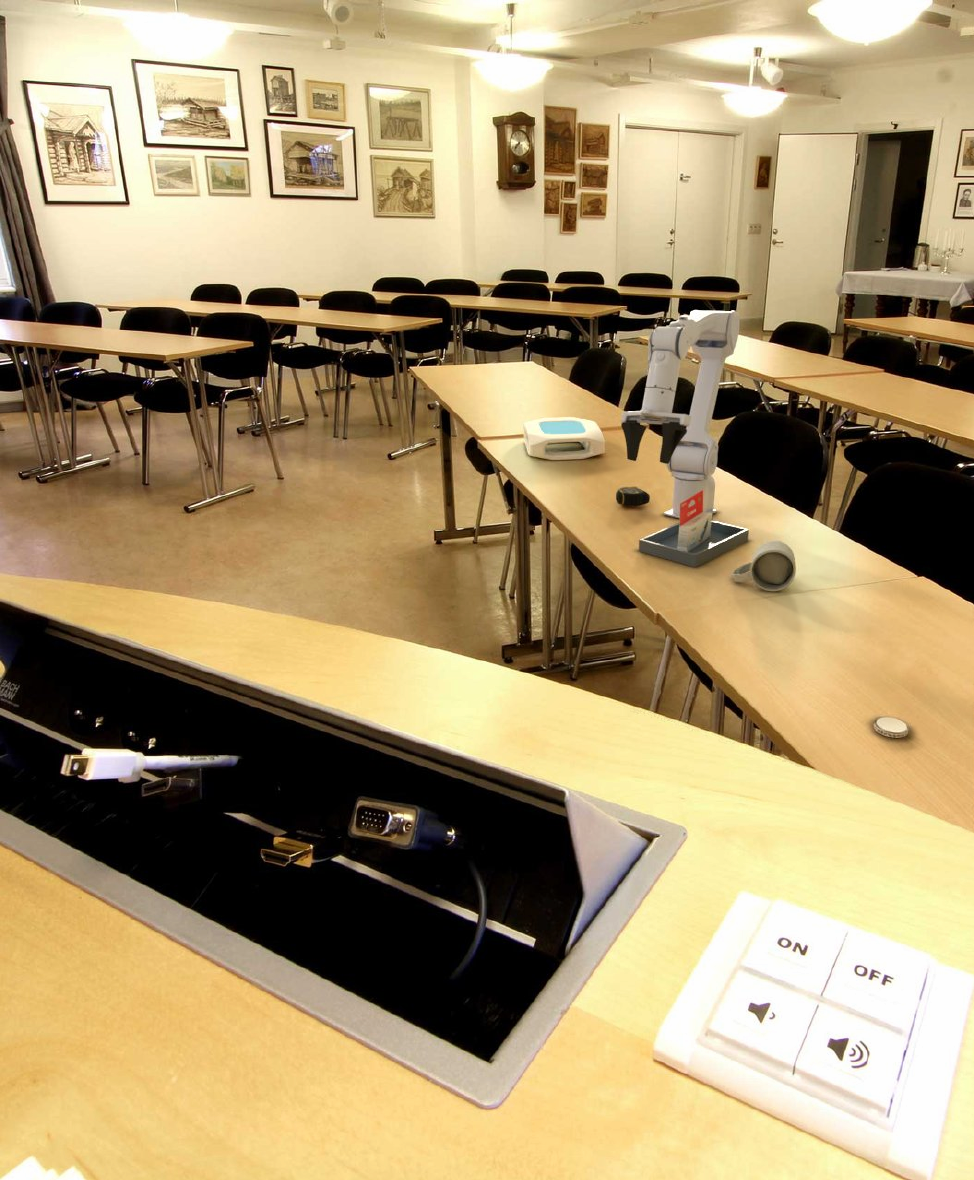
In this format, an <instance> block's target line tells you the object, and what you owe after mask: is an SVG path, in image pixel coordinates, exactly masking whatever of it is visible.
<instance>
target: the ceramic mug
mask: <svg viewBox="0 0 974 1180" xmlns="http://www.w3.org/2000/svg"><path fill="white" fill-rule="evenodd" d="M796 573H797V565H796V557H795V553H794V552H793V550H792V548H791V547H790V546H789V545H788V544H787V543H785V542H783V541H781V540H769V541H765V542H763V543H761V544H760V545H759V546H758V547H757V548H756V549H755V551H754V552H753V555H752V559H751V562H748V563H745V564H742V565H740V566H738V567H737V568H735V569H734V570H733V571H732V573H731V574H732V577H733V578H732V579H733V580H734V582H736V583H747V582H749V581H752V583H754V585H755V586H757V587H758V588H759V589H761V590H763V591H766V592H779V591H782V590H784V589H786V588H787V587H789V586H790V585H791V584H792V583H793V582H794V580H795V577H796Z"/></svg>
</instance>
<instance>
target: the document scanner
mask: <svg viewBox="0 0 974 1180" xmlns="http://www.w3.org/2000/svg"><path fill="white" fill-rule="evenodd" d="M522 432H523V440H524V446H525V448H526V451H527V452H526V453H527V455H528V456H530V457H533V458H540V459H546V460H551V461H563V460H565V461H566V460H584V459H588V458H591V457H594V456H595V457H596V456H599V455H602V454H604V453H605V452H606V440H605V437H604V435H603V432H602V430H601V428H600V427H599V425H598V423H597V422H596V421H594V420H590V419H585V418H579V417H573V416H563V417H561V416H560V417H559V416H558V417H542V418H539V419H535V420H531V421H528V422H527V421H526V422H524V423H523V424H522ZM573 442H576V443H577V442H579V443H580V444H581V445H582V447H583V448H584V449H581V450H566V451H548V450H546V447H547V445H548V444H557V443H573Z"/></svg>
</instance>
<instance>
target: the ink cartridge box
mask: <svg viewBox="0 0 974 1180" xmlns="http://www.w3.org/2000/svg"><path fill="white" fill-rule="evenodd" d="M691 500H694V501H695V504H694V505H692V506H690V507H689V508H688V506H689V504H690V502H691ZM678 519H679V520H678V521H679V522H678V523H679V535H678V546H677V549H679V550H683V551H687V552H688V551H690V550H691V549H693V548H694V547H696V546H697V545H699V544H700V543H702V542H703V541H704V540H706V539H707V538H709V537H710V533H711V522H712V521H713V514H712V513H706V512H703V490H702V491H700V492H699V493H697V494H695V495H694V496H692V497H690V498H689V499H687V500H685V501H684V502H682V503H680V518H678Z"/></svg>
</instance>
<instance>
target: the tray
mask: <svg viewBox="0 0 974 1180" xmlns="http://www.w3.org/2000/svg"><path fill="white" fill-rule="evenodd" d="M678 535H679V522H677V523H675V524H672V525H670V526H667V527H665V528H663V529H660V530H658V531H656V532H653V533H651V534H649V535H647V536H644V537H643V538H639V540H638V552H640V553H643V554H647V555H650V556H654V557H658V558H661V559H665V560H668V561H672V562H675V563H678V564H682V565H686V566H689V567H692V568H697V567H699V566H701V565H703V564H704V563H707V562H709V561H710V560H712V559H714V558H717V557H718V556H720V555H723V554H724V553H726V552H728V551H730V550H732V549H735V548H736V547H738V546H740V545H742V544H744V543H746V542H749V535H750V529H748V528H744V527H742V526H741V527H740V526H737V525H732V524H728V523H724V522H719V521H715V520H712V522H711V533H710V537H709V538H707V539H706V540H704V541H703V542H702V543H700V544H699V545H697V546H696V547H694V548H693V549H691V550H690V551H688V552H687V551H683V550H679V549H677V546H678Z"/></svg>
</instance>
